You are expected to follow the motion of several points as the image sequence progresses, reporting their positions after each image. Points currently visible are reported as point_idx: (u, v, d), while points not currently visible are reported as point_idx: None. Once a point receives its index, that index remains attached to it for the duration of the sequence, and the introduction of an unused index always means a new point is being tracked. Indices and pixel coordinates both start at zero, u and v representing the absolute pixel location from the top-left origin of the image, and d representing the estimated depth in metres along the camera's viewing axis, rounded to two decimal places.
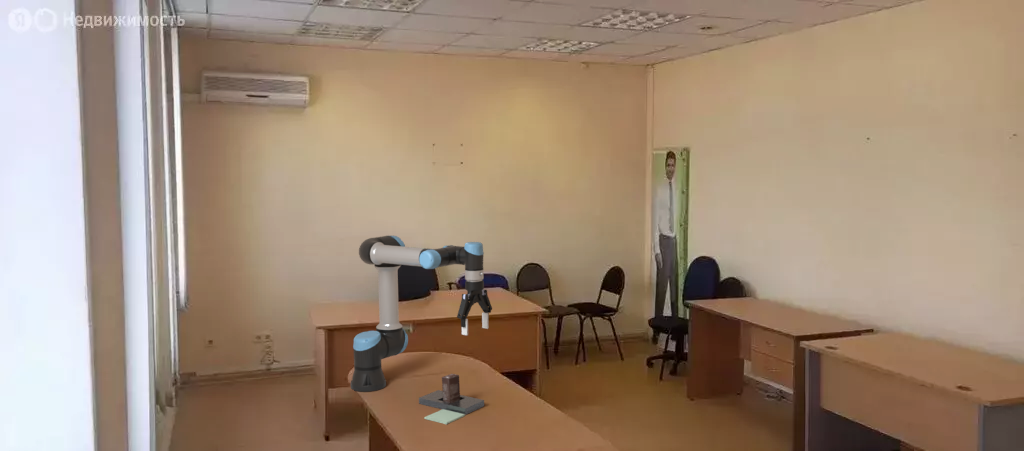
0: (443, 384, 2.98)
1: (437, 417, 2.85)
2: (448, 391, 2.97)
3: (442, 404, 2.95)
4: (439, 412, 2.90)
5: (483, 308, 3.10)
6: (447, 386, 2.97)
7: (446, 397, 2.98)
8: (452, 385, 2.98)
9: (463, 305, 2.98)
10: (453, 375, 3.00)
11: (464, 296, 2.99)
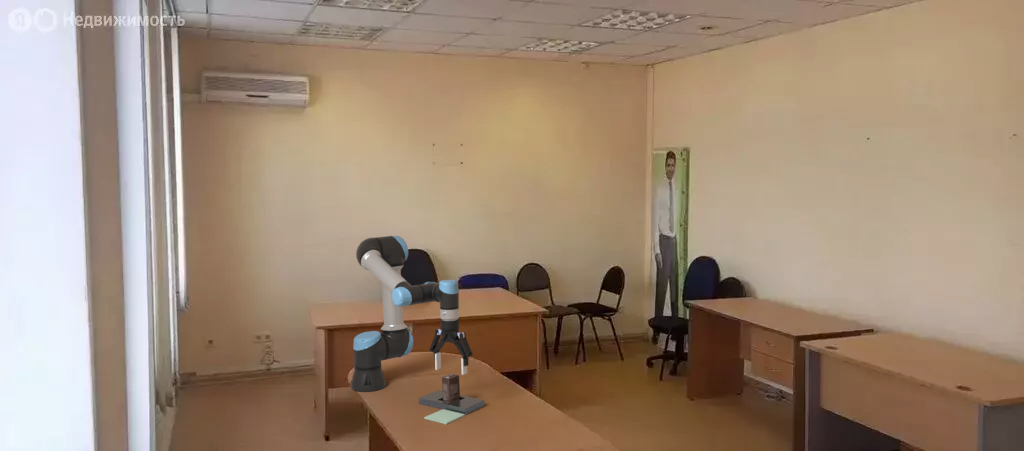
0: (443, 384, 2.98)
1: (437, 417, 2.85)
2: (448, 391, 2.97)
3: (442, 404, 2.95)
4: (439, 412, 2.90)
5: None
6: (447, 386, 2.97)
7: (446, 397, 2.98)
8: (452, 385, 2.98)
9: None
10: (453, 375, 3.00)
11: None
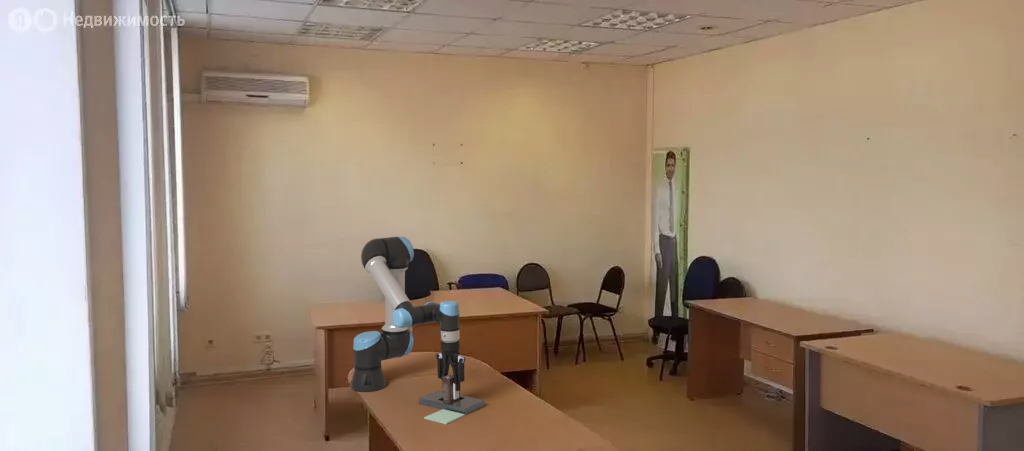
0: (443, 384, 2.98)
1: (437, 417, 2.85)
2: (448, 391, 2.97)
3: (442, 404, 2.95)
4: (439, 412, 2.90)
5: None
6: (447, 386, 2.97)
7: (446, 397, 2.98)
8: (452, 385, 2.98)
9: None
10: (453, 375, 3.00)
11: None
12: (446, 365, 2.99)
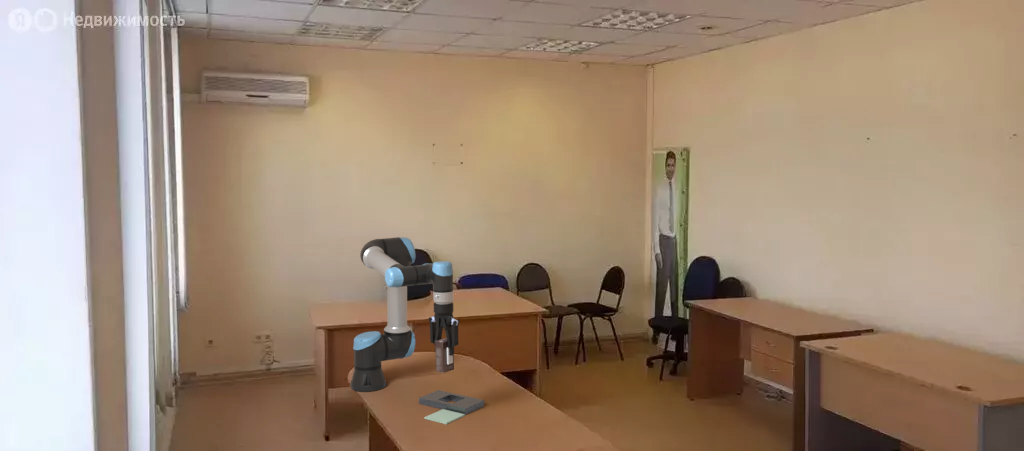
0: (436, 348, 2.84)
1: (437, 417, 2.85)
2: (442, 356, 2.82)
3: (442, 404, 2.95)
4: (439, 412, 2.90)
5: None
6: (440, 350, 2.82)
7: (439, 362, 2.83)
8: (446, 349, 2.83)
9: None
10: None
11: None
12: (439, 329, 2.85)
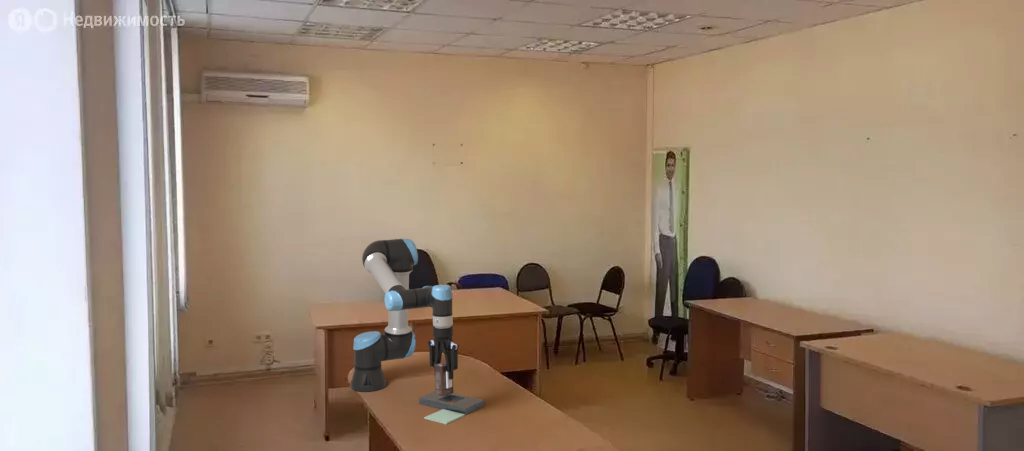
0: (436, 372, 2.83)
1: (437, 417, 2.85)
2: (441, 380, 2.82)
3: (442, 404, 2.95)
4: (439, 412, 2.90)
5: None
6: (439, 374, 2.82)
7: (438, 386, 2.83)
8: (445, 373, 2.83)
9: None
10: None
11: None
12: (438, 352, 2.84)
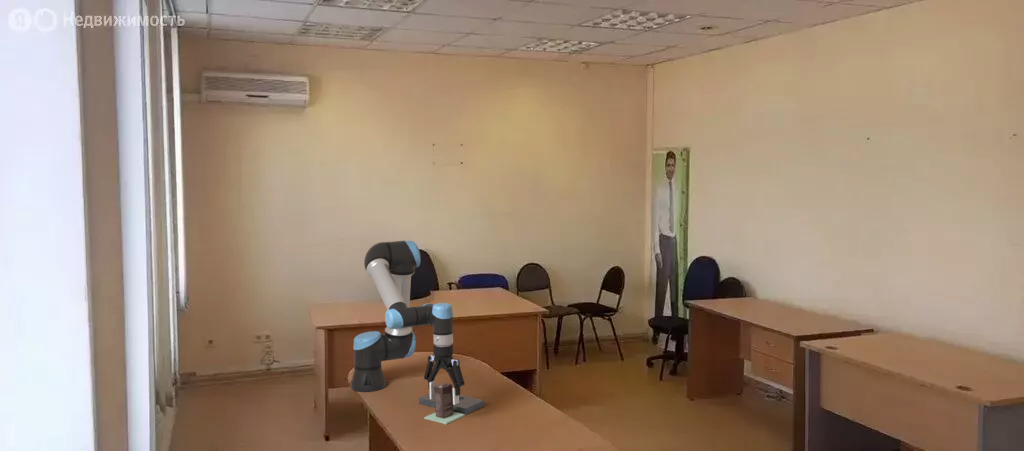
0: (436, 394, 2.84)
1: (437, 417, 2.85)
2: (441, 401, 2.83)
3: None
4: None
5: None
6: (440, 396, 2.83)
7: (439, 407, 2.84)
8: (445, 394, 2.84)
9: None
10: (446, 384, 2.86)
11: None
12: (436, 369, 2.86)
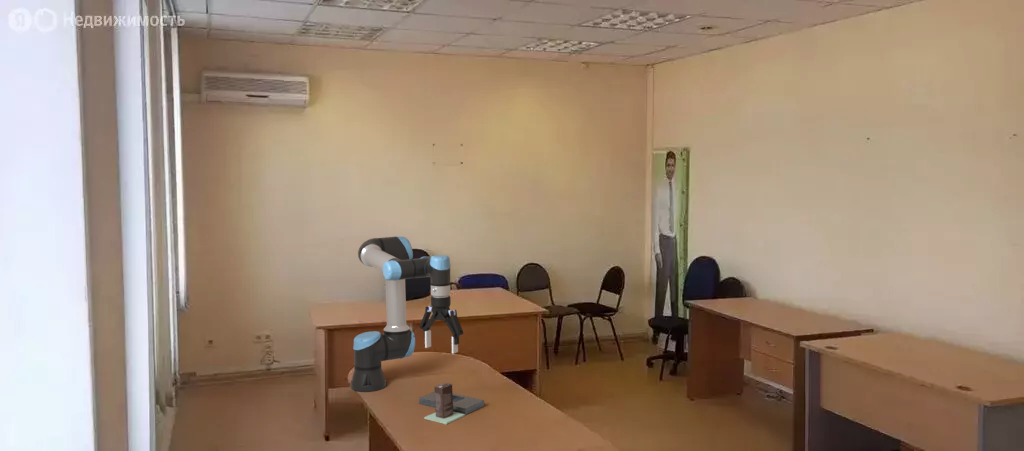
0: (436, 394, 2.84)
1: (437, 417, 2.85)
2: (441, 401, 2.83)
3: None
4: None
5: None
6: (440, 396, 2.83)
7: (439, 407, 2.84)
8: (445, 394, 2.84)
9: None
10: (446, 384, 2.86)
11: None
12: (433, 319, 2.89)
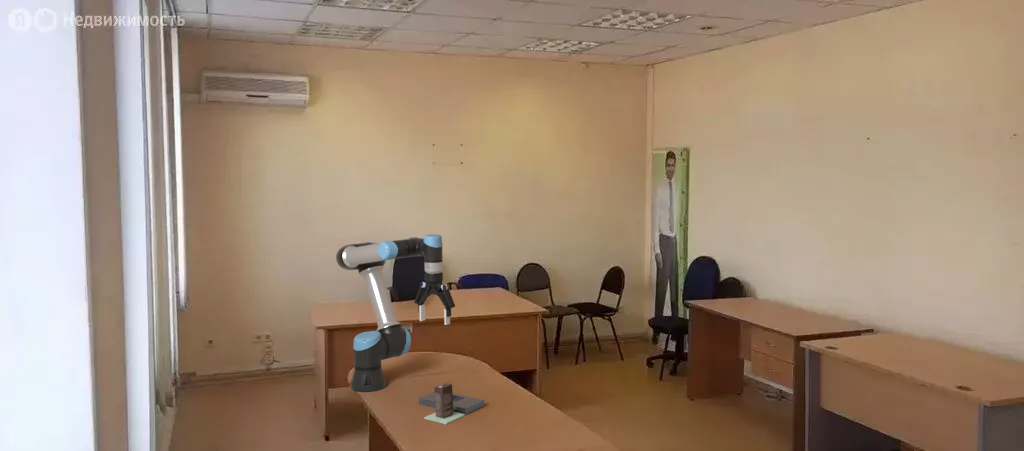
0: (436, 394, 2.84)
1: (437, 417, 2.85)
2: (441, 401, 2.83)
3: None
4: None
5: None
6: (440, 396, 2.83)
7: (439, 407, 2.84)
8: (445, 394, 2.84)
9: None
10: (446, 384, 2.86)
11: None
12: (426, 294, 3.12)
